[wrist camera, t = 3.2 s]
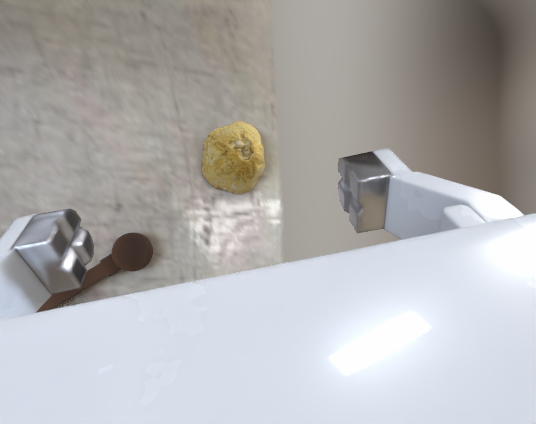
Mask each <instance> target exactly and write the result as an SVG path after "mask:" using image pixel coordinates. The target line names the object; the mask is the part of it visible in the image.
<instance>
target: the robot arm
mask: <svg viewBox="0 0 536 424" xmlns="http://www.w3.org/2000/svg"><path fill="white" fill-rule="evenodd" d="M338 172H339V173H340V175H341V177H342V178H341V180H340V181H339V183H338V192H339V198H340V202H341V205H342V207H343V209H344V211H346V212H348V213H349V220H350V222H351V224H352V225H353V227H354V229H355V230H356V232H357V233H361V232H367V231H372V230H378V229H384V230H386V231H387V232H389V233H391V234H393V235H394V236H396V237H397V238H399V239H401V240H398V241H393V242H389V243H383V244H378V245H373V246H369V247H363V248H358V249H353V250H348V251H343V252H338V253H333V254H328V255H323V256H318V257H313V258H308V259H303V260H298V261H293V262H288V263H283V264H278V265H273V266H268V267H263V268H258V269H253V270H248V271H243V272H238V273H233V274H228V275H223V276H218V277H213V278H208V279H203V280H198V281H193V282H188V283H182V284H177V285H172V286H167V287H162V288H157V289H152V290H147V291H142V292H137V293H132V294H127V295H122V296H117V297H112V298H107V299H102V300H97V301H92V302H87V303H82V304H77V305H72V306H67V307H62V308H57V309H52V310H47V311H42V312H37V310H38V309H39V308H40V307H41V306H42V305H43V304H44V303H45V302H46V301H47V300H48V299H49V298H50V297H51V296H52V295H51V294H55V293H59V292H64V291H68V290H73V289H77V288H81V286H82V283H83V281H84V278H85V276H86V273H87V270H86V268H85V267H84V266H85V265H87V264H88V263H89V262H90V261H91V260H92V257H93V254H94V243H93V240H92V237H91V235H90V234H89V232H88V231H87V230H85V229H83V228H82V227H80V222H81V219H80V217H79V216H78V214H77V213H76V211H74V210H72V209H65V210H60V211H54V212H48V213H42V214H37V215H35V214H34V215H30V216H25V217H20V218H17V219H15V220H14V222H13V223H12V224H11V226H10V227H9V228H8V230H7V231H6V232H5V234H4V235H3V236H2V237H1V239H0V424H536V213H535V214H530V215H524V214H522V213H521V212H520V211H518V210H517V209H516V208H515V207H513V206H512V205H511V204H510V203H509V202H507V201H506V200H505V199H504V198H502V197H501V196H499V195H496V194H492V193H489V192H486V191H482V190H479V189H475V188H472V187H468V186H465V185H462V184H458V183H454V182H451V181H448V180H445V179H441V178H438V177H434V176H431V175H428V174H424V173H421V172H412V171H411V170H410V169H409V168H408V167H407V166H406V165H405V164H404V163H403V162H402V161H401V160H400V159H399V158H398V157H397V156H396V155H395V154H394V153H392V151H391V150H390V149H387V148H385V149H381V150H377V151H372V152H367V153H362V154H358V155H353V156H349V157H344V158H340V159H339V162H338ZM36 312H37V313H36Z"/></svg>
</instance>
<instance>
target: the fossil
mask: <svg viewBox="0 0 536 424" xmlns="http://www.w3.org/2000/svg"><path fill="white" fill-rule="evenodd" d="M203 147H204V148H203V150H204V151H203V158H202V173H203V176H204V178H205V179H206V180H207V181H208V182H209V183H210V184H211V185H212V186H213V187H215V188H216V189H218V188H219V189H222V190H225V191H227V192H231V193H236V194H243V193H245V192H248V191H250V190H252V189H253V187H254V186H255V185H256V182H257V181H258V180H259V179H260V177H261V175H262V174H263V172H264V168H265V161H264V151H263V145H262V143H261V137H260V135H259V133H258V131H257V130H256V129H255V128H254V127H253V126H252V125H250V124H247V123H245V122H243V121H236V122H233V123H232V124H230V125H227V126H223V127H221V128H217V129H215V130H213V131H212V132H210V133H209V135H208V138H206V139H205V141H204V146H203Z"/></svg>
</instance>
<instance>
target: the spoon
mask: <svg viewBox="0 0 536 424" xmlns="http://www.w3.org/2000/svg"><path fill="white" fill-rule="evenodd" d="M152 255H153V248H152V244H151V242H150V241H149V240H148V238H146V237H145V236H144V235H142V234H139V233H128V234H125V235H123V236H121V237H119V238H118V239H117V240H116V242H115V243H114V245H113V247H112V254H111V255H109V256H107V257H106V258H104V259H102V260H101V261H100V262H101V263H100V264H98V265H96V266H95V267H93V268H91V269H90V270H88V271H87V273H86V276H85V278H84V281H83V283H82V286H81V288H77V289H73V290H68V291H64V292H59V293H55V294H51V295H52V296H51V297H50V298H49V299H48V300H47V301H46V302H45V303H44V304H43V305H42V306H41V307H40V308H39V309H38V310H37V312H42V311H47V310H51V309H52V308H54V307H56V306H57V305H59V304H61V303H62V302H64V301H66V300H67V299H69V298H71V297H72V296H74V295H75V294H77V293H79V292H80V291H82V290H84V289H85V288H87V287H89V286H90V285H92V284H93V283H95V282H97V281H98V280H100V279H102V278H103V277H105V276H107V275H108V274H109V275H110V276H111V275H113V274H114V273H116V272H118V271H119V270H121V269H123V270H126V271H137V270H140V269H142V268H144V267H145V266H146V265H147V264H148V263H149V262H150V260H151V258H152ZM37 312H36V313H37Z"/></svg>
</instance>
